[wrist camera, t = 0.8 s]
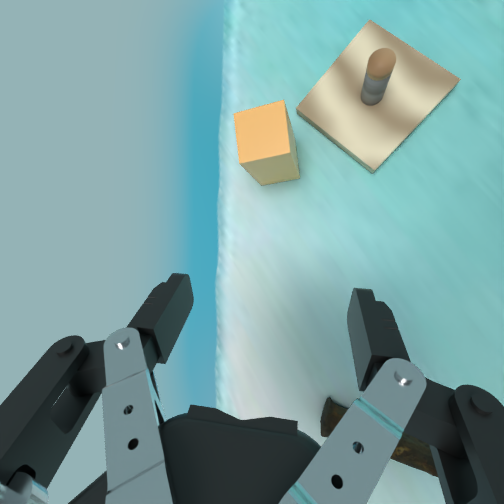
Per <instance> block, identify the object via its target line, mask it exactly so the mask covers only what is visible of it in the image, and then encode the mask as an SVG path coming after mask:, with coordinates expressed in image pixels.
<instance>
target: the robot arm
mask: <svg viewBox="0 0 504 504" xmlns="http://www.w3.org/2000/svg"><path fill="white" fill-rule="evenodd" d="M193 300H194V299H193V292H192V287H191V283H190V278H189V275H188V274H179V273H173V274H172V275H171V276H170V277H169V279H168V281H167V282H166V283H165V282H162V283H160V284H159V285H158V286H157V287H155V288H154V289H153V290H152V292H151V293H150V294H149V296H148V298H147V299H146V300H145V302H144V304H143V305H142V306H141V307H140V309H139V310H138V312H137V313H136V314H135V316H134V317H133V319H132V320H131V322H130V323H129V324H128V326H127V327H126V328H122V329H119V330H117V331H115V332H113V333H112V334H111V335H110V336H109V337H108V338H107V339H106V340H103V341H97V342H91V343H85V341H84V339H83V338H82V337H80V336H68V337H65V338H63V339H61V340H59V341H57V342H56V343H54V344H53V345H52V346H51V347H50V348H49V349H48V350H47V352H46V353H45V354H44V355H43V356H42V357H41V359H40V360H39V361H38V362H37V363H36V364H35V365H34V367H33V368H32V369H31V370H30V371H29V372H28V374H27V375H26V376H25V377H24V378H23V380H22V381H21V382H20V383H19V384H18V385H17V387H16V388H15V389H14V390H13V391H12V392H11V393H10V395H9V396H8V397H7V398H6V399H5V400H4V402H3V403H2V404H1V405H0V504H48V491H47V488H48V486H49V484H50V482H51V480H52V479H53V477H54V475H55V474H56V472H57V470H58V468H59V466H60V465H61V463H62V461H63V460H64V458H65V456H66V454H67V452H68V451H69V449H70V447H71V446H72V444H73V442H74V440H75V439H76V437H77V435H78V433H79V432H80V430H81V428H82V426H83V424H84V423H85V421H86V419H87V418H88V416H89V414H90V412H91V410H92V409H93V407H94V405H95V403H96V401H97V400H98V398H99V396H100V394H101V393H102V401H103V418H104V433H105V450H106V465H107V471H105V472H104V473H103V474H102V475H101V476H100V477H98V478H97V479H96V480H95V481H94V482H93V483H91V484H90V485H89V486H88V487H87V488H86V489H84V490H83V491H82V492H81V493H80V494H79V495H77V496H76V497H75V498H74V499H73V500H72V501H70V502H69V503H68V504H367V502H368V500H369V498H370V496H371V494H372V492H373V490H374V488H375V486H376V484H377V482H378V480H379V479H380V477H381V475H382V473H383V471H384V469H385V467H386V465H387V463H388V461H389V459H390V457H391V455H392V453H393V452H394V450H395V448H396V446H397V444H398V442H399V440H400V438H401V436H402V434H403V432H404V433H406V434H409V435H411V436H413V437H415V438H417V439H419V440H421V441H423V442H425V443H427V444H429V446H430V449H431V453H432V456H433V460H434V463H435V467H436V470H437V474H438V477H439V481H440V484H441V488H442V491H443V495H444V498H445V502H446V504H504V407H503V405H502V404H501V403H500V402H499V401H498V400H497V399H496V398H495V397H494V396H493V395H491V394H490V393H489V392H487V391H485V390H483V389H481V388H479V387H476V386H473V385H461V386H459V387H458V388H457V389H456V390H453V389H451V388H448V387H446V386H443V385H441V384H438V383H435V382H433V381H431V380H429V379H427V378H426V377H425V376H424V375H423V373H422V372H421V370H420V369H419V368H418V367H416V366H415V365H414V364H412V363H411V361H410V359H409V356H408V353H407V351H406V348H405V345H404V343H403V340H402V337H401V335H400V332H399V330H398V327H397V324H396V322H395V318H394V316H393V313H392V310H391V309H390V308H389V307H388V306H387V305H386V304H385V303H384V302H381V301H375V297H374V294H373V291H372V290H371V289H361V288H354V289H353V292H352V296H351V300H350V304H349V309H348V314H347V324H348V330H349V336H350V341H351V347H352V353H353V359H354V364H355V370H356V376H357V381H358V387H359V391H364V393H363V394H362V396H361V397H360V398H359V399H358V398H357V399H356V400H355V401H354V402H353V404H352V405H351V406H350V408H349V409H348V410H347V412H346V413H345V415H344V416H343V417H342V419H341V420H340V422H339V423H338V424H337V426H336V427H335V429H334V430H333V431H332V433H331V434H330V436H329V437H328V438H327V440H326V441H325V443H324V444H323V445H322V447H321V446H320V445H319V444H318V443H317V442H316V441H315V440H313V439H312V438H311V437H310V436H308V435H307V434H305V433H303V432H301V431H299V430H297V425H298V421H294V420H287V419H281V418H274V417H265V418H257V419H249V420H239V419H237V418H235V417H233V416H231V415H229V414H226V413H224V412H222V411H220V410H218V409H216V408H210V407H204V406H197V405H190V408H189V411H188V413H184V414H181V415H177V416H175V417H172V418H170V419H168V420H167V419H166V416H165V413H164V410H163V406H162V402H161V398H160V394H159V391H158V386H157V382H156V378H155V374H154V370H153V369H154V367H155V365H156V363H162V364H165V363H166V362H167V360H168V357H169V355H170V353H171V351H172V349H173V347H174V345H175V343H176V341H177V339H178V337H179V334H180V332H181V330H182V328H183V326H184V324H185V322H186V320H187V317H188V315H189V313H190V311H191V309H192V306H193ZM64 389H65V390H64ZM63 390H64V391H63ZM62 392H63V393H62ZM61 393H62V394H61ZM60 395H61V396H60ZM59 396H60V397H59ZM58 397H59V399H58ZM57 399H58V400H57ZM55 402H56V403H55ZM54 403H55V404H54ZM53 405H54V406H53Z"/></svg>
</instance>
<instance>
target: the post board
mask: <svg viewBox="0 0 504 504" xmlns="http://www.w3.org/2000/svg"><path fill="white" fill-rule="evenodd" d="M460 80H461V79H459V78H458V77H456V76H455V75H453V74H452V73H450V72H449V71H447V70H446V69H444V68H443V67H441V66H440V65H438V64H437V63H435V62H434V61H432V60H431V59H429V58H428V57H426V56H424V55H423V54H421V53H420V52H418V51H417V50H415V49H414V48H412V47H411V46H409V45H408V44H406V43H405V42H403V41H402V40H400V39H399V38H397V37H396V36H394V35H393V34H391V33H389V32H388V31H386V30H385V29H383V28H382V27H380V26H379V25H377V24H376V23H374V22H373V21H371V20H369V21H368V22H367V23H366V24H365V26H364V27H363V28H362V29H361V30H360V32H359V33H358V34H357V35H356V36H355V38H354V39H353V40H352V41H351V42H350V44H349V45H348V46H347V47H346V48H345V50H344V51H343V52H342V53H341V54H340V56H339V57H338V58H337V59H336V61H335V62H334V63H333V64H332V65H331V67H330V68H329V69H328V70H327V71H326V73H325V74H324V75H323V76H322V77H321V79H320V80H319V81H318V82H317V83H316V85H315V86H314V87H313V88H312V89H311V91H310V92H309V93H308V94H307V95H306V97H305V98H304V99H303V100H302V101H301V103H300V104H299V105H298V106H297V107H296V111H297V114H298V115H299V116H301V117H302V118H303V119H304V120H306V121H307V122H308V123H309V124H311V125H312V126H313V127H314V128H316V129H317V130H318V131H319V132H321V133H322V134H323V135H324V136H326V137H327V138H328V139H329V140H331V141H332V142H333V143H335V144H336V145H337V146H338V147H340V148H341V149H342V150H343V151H345V152H346V153H347V154H348V155H350V156H351V157H352V158H353V159H355V160H356V161H357V162H358V163H360V164H361V165H362V166H363V167H365V168H366V169H367V170H368V171H370V172H371V173H372V174H373V173H374V172H375V171H376V170H377V169H378V167H379V166H380V165H381V164H382V163H383V162H384V161H385V160H386V159H387V158H388V157H389V156H390V155H391V154H392V153H393V152H394V151H395V150H396V148H397V147H398V146H399V145H400V144H401V143H402V142H403V141H404V140H405V139H406V138H407V137H408V136H409V135H410V134H411V133H412V132H413V131H414V129H415V128H416V127H417V126H418V125H419V124H420V123H421V122H422V121H423V120H424V119H425V118H426V117H427V116H428V115H429V114H430V113H431V112H432V110H433V109H434V108H435V107H436V106H437V105H438V104H439V103H440V102H441V101H442V100H443V99H444V98H445V97H446V96H447V95H448V94H449V93H450V92H451V90H452V89H453V88H454V87H455V86H456V85H457V83H458V82H459V81H460Z"/></svg>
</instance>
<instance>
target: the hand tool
mask: <svg viewBox="0 0 504 504" xmlns="http://www.w3.org/2000/svg"><path fill="white" fill-rule="evenodd" d="M347 410H348V409H346V408H343V407H340V406H338V405H336V404H335V403H333V402H332V400H331V398H330V397H329V398H327V401H326V403H325V406H324V409H323V413H322V416H321V421H320V422H321V436H322V437H329V436H330V434H331V433H332V431H333V430H334V429H335V427H336V426H337V424H338V423H339V422H340V420H341V419H342V417H343V416H344V415H345V413H346V412H347ZM390 459H393V460H396V461H398V462H400V463H403V464H406V465H408V466H411V467H413V468H416V469H419V470H422V471H425V472H427V473H429V474H431V475H433V476H436V477H438V474H437V470H436V467H435V463H434V460H433V456H432V453H431V449H430V446H429V444H427V443H425V442H423V441H421V440H419V439H417V438H415V437H413V436H411V435H409V434H406V433H404V432H403V434H402V436H401V438H400V440H399V442H398V444H397V446H396V448H395V450H394V452H393V453H392V455H391V457H390Z"/></svg>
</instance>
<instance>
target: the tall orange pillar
mask: <svg viewBox="0 0 504 504" xmlns="http://www.w3.org/2000/svg"><path fill="white" fill-rule="evenodd" d="M234 121H235V130H236V139H237V147H238V156H239V164H240V165H241V166H242V167H243V168H244V169H245V170H246V171H247V172H248V173H249V174H250V175H251V176H252V177H253V178H254V179H255V180H256V181H257V182H258V183H259V184H260V185H261V186H263V185H268V184H273V183H278V182H284V181H289V180H294V179H299V178H300V174H299V166H298V158H297V150H296V142H295V137H294V133H293V130H292V126H291V123H290V119H289V116H288V112H287V109H286V105H285V102H284V100H281V101H277V102H274V103H270V104H267V105H263V106H259V107H256V108H252V109H248V110H245V111H241V112H237V113H234Z"/></svg>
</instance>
